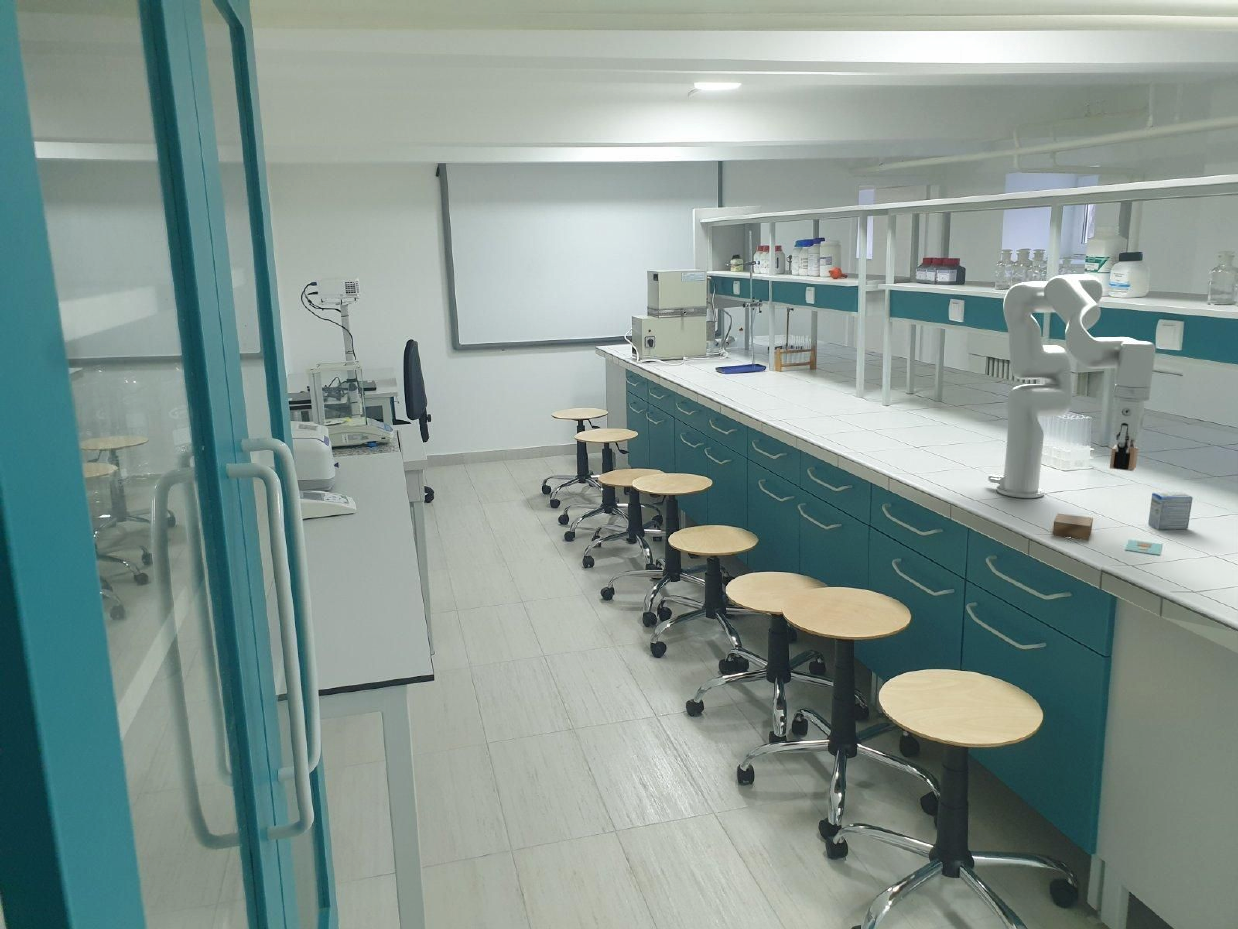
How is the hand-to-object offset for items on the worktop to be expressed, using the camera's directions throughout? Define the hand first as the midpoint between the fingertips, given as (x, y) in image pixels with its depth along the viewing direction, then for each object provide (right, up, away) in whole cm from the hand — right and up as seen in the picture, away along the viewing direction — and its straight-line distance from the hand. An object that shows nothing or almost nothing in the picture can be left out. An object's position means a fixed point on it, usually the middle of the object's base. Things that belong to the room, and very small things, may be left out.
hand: (1122, 465), depth 224 cm
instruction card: (+1, -19, -7) cm, 21 cm away
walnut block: (-11, -17, +4) cm, 21 cm away
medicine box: (+16, -16, +8) cm, 24 cm away
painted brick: (0, 0, 0) cm, 1 cm away
